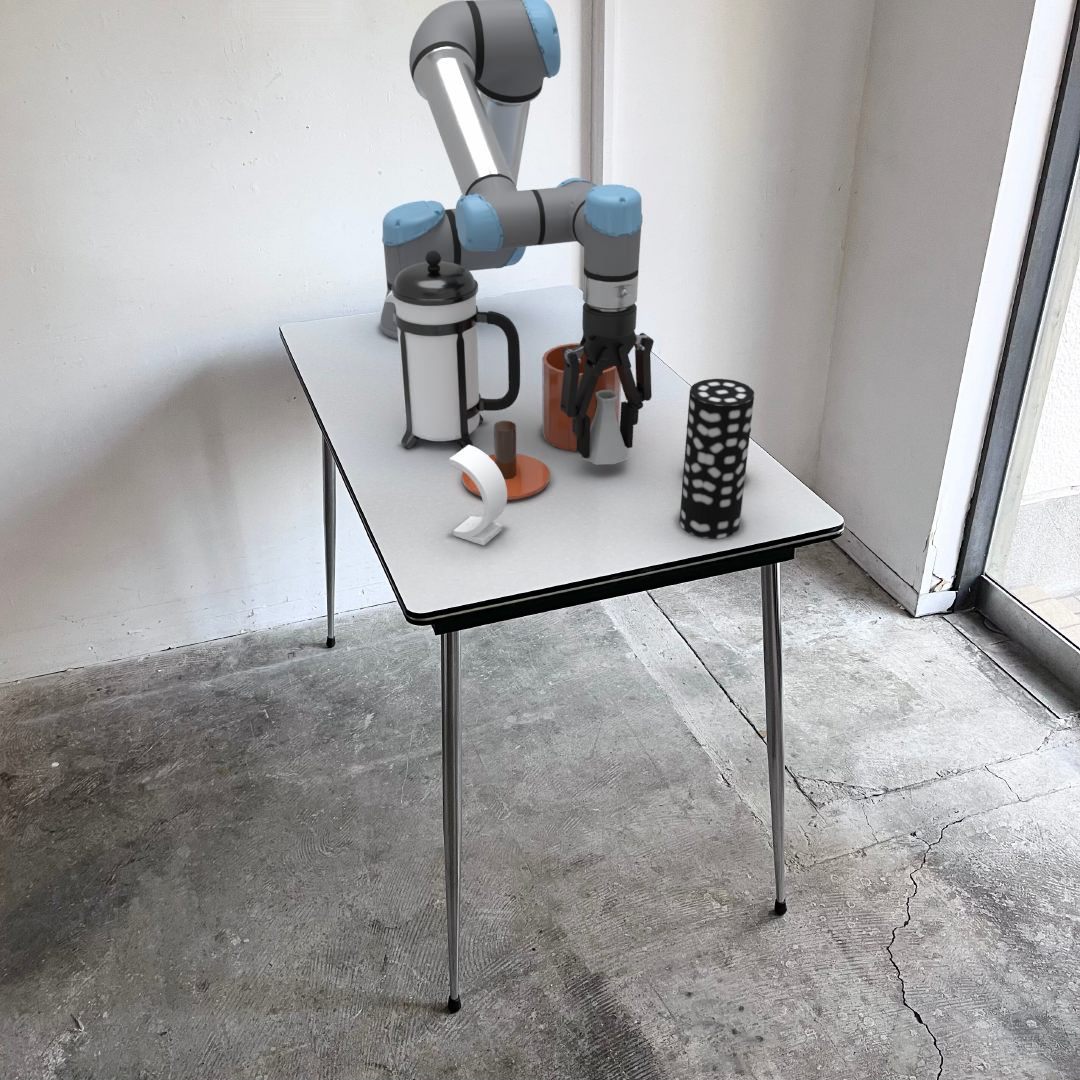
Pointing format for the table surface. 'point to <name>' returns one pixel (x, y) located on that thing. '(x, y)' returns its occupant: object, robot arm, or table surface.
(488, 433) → the table surface
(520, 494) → the lid
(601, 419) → the flask
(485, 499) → the headphone stand
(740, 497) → the white-spotted black cylinder
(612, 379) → the canister
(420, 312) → the coffee press
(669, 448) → the table surface
